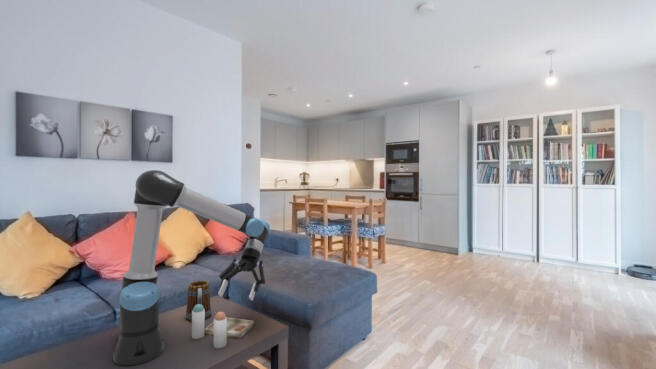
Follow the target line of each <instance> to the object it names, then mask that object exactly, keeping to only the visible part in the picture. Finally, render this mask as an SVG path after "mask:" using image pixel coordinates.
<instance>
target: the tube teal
mask: <svg viewBox="0 0 656 369" xmlns="http://www.w3.org/2000/svg"><path fill="white" fill-rule="evenodd" d="M205 320H206V319H205V309H204V307H203V305H201V304H197V305H195V306H194V308H193V310H192V321H191V338H192V339H195V340H199V339H202V338H204V337H205V334H204V332H205V328H206V326H205V322H206V321H205Z"/></svg>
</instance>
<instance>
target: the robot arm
mask: <svg viewBox="0 0 656 369" xmlns="http://www.w3.org/2000/svg"><path fill="white" fill-rule="evenodd" d="M133 204H134V205H135V207H136V209H137V210H136V212H137V213H136V218H135V219H136V220H135V223H134V224H135V225H134V230H133V231H134V233H133V237H132V238H133V239H132V247H131V253H130V254H131V255H130V260H129V267H128V271H126V272H125V273H124V274H123V278H122V283H121V288H120V291H119V298H118V300H119V301H118V302H119V336H118V339H117V342H116V346H115V348H114V350H113V362H114V364H116V365H119V366H123V367H124V366H126V367H127V366H136V365H140V364H144V363H147V362H149V361H152V360H154V359H155V358H158V356H160V355H161V354H162V353H163V351H164V348H165V342H164V339H163V337H162V334H161V331H160V328H159V327H160V326H159V318H160V317H159V316H160V314H159V312H160V310H159V309H160V308H159V304H160V303H159V301H160V300H159V298H160V291H159V290H160V289H159V286H158V278H159V274H158V272H156V270H155V268H156V261H157V253H158V246H159V240H160V232H161V225H162V216H163V211H164V209H166V208H167V207H171V208H175V207H178V208H181V209H183V210H186V211H188V212H191V213H193V214H195V215H198V216H201V217H203V218H205V219H209V220H211V221H213V222H215V223H218V224H221V225H223V226H226V227H228V228H230V229H233V230H235V231H238V232H240V233H242V234H244V235H246V236H247V237H248V240H247V242H246V244H245V247H244V249H243V252H242V254H241V257H240V259H239V260H238V259H236V258H233V260H232V261H231V263H230V264H229V265H228V266H227V267H226V268H225V269H223V271H222V272H221V273H220V275H219V276H218V277H219V279H220V280H221V282H220V284H219V290H218V292H217V295H218V296H219V297H220V298H223V295H224V293H225V291H226V288H227V286H228V285H229V284H228V283H229V282H228V281H229V280H231V279H232V278H233V277H234V276H236V275H237V274H238V273H241V272H244V273H245V272H248V273H250V272H251V273H252V275H253V278H254V279H255V281H254V282H253V285H252V287H251V290H250V293H249V295H248V299H249V300H250V301H252V302H253V301H254V298H255V296H256V295H255V294H256V293H258V292H259V288H260V286H261V285H265V284H266V277H265V271H264V266H265V265H264V261H263V260H260V258H261V254H262V251H263V248H264V246H265V243H266V240H267V237H268V236H269V234H270V233H269V232H270V229H271V228H270V224H269V223H268V222H267V221H264V220H261V219H259V218H257V217H254V216H252V215H249V214H247V213H245V212H243V211H241V210H239V209H236V208H233V207H232V206H229V205H226V204H224V203H223V202H220V201H218V200H216V199H213V198H211V197H208V196H206V195H204V194H202V193H200V192H197V191H195V190H193V189H191V188H188V187H187V186H186V184H185V183H184V182H182V181H179V180H177V179H176V178H174V177H172V176H171V175H169V174H167V173H166V172H164V171H162V170H157V169H152V170H146V171H144V172H142V173H141V174H139V176H138V177H137V179H136V181H135V192H134V198H133ZM256 267H258V269H259V270H258V271H259V276H258V274H257V271H256V269H255V268H256ZM259 277H260V278H259Z"/></svg>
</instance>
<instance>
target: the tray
mask: <svg viewBox="0 0 656 369" xmlns="http://www.w3.org/2000/svg"><path fill="white" fill-rule="evenodd" d="M226 317H227V316H226ZM255 325H256V324H255V320H251V319H244V318H238V317H237V318H236V317H227V338H232V339H239V340H241V339H242V338H243V337H244V336H245V335H246V334H247V333H248V332H249V331H250V330H251V329H252V328H254V326H255ZM204 335H209V336H214V321H213V322H211V323H210V324H209V325H207V326H205V332H204Z"/></svg>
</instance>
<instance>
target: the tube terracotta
mask: <svg viewBox="0 0 656 369" xmlns="http://www.w3.org/2000/svg"><path fill="white" fill-rule="evenodd" d="M213 322H214V335H213V343H212V344H213V348H214V349H223V348H225V347H227V344H228V340H227V338H228V337H227V316H226V313H225V312H224V311H218V312H217V313H215V315H214V317H213Z"/></svg>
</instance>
